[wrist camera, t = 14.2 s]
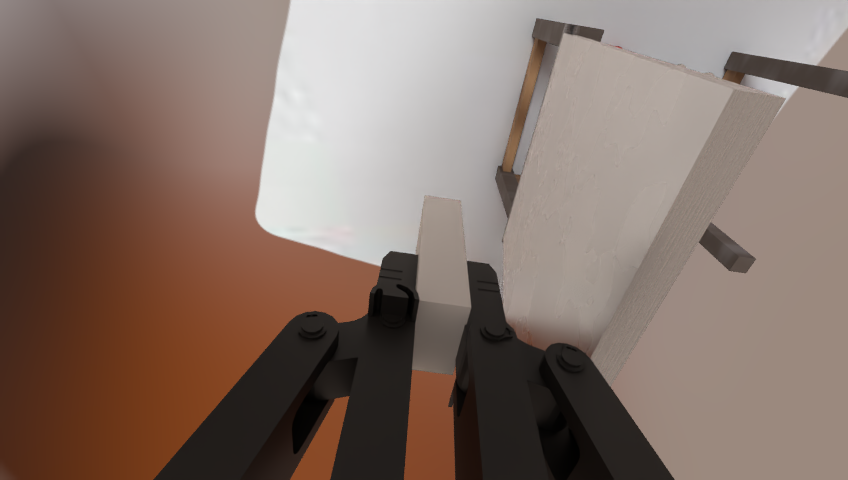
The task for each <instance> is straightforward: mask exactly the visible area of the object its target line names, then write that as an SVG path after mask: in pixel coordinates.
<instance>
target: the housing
mask: <svg viewBox="0 0 848 480" xmlns="http://www.w3.org/2000/svg"><path fill="white" fill-rule="evenodd" d="M564 27H565V23H560V22H555V21H549V20H543V19H537V18H536V22H535V26H534V30H533V34H532V37H535V41H534V45H533V48H532V52H531V56H530V60H529V64H528V67H527V71H526V75H525V79H524V83H523V86H522V90H521V94H520V98H519V102H518V106H517V109H516V113H515V117H514V121H513V125H512V128H511V132H510V136H509V140H508V144H507V147H506V151H505V155H504V159H503V163H502V166H498V170H497V174H496V177H495V179H496V182H497V185H498V188H499V192H500V195H501V198H502V201H503V205H504V208H505V211H506V214H507V218H508V217H509V214H510V211H511V207H512V204H513V200H514V197H515V194H516V190H517V187H518V183H519V180H520V177H521V175H516V174H514V172H513V170H512V166H513V162H514V158H515V155H516V151H517V148H518V144H519V140H520V137H521V133H522V129H523V126H524V122H525V119H526V115H527V111H528V108H529V104H530V101H531V97H532V93H533V90H534V86H535V83H536V79H537V75H538V72H539V68H540V65H541V61H542V57H543V54H544V50H545V47H546V43H547V42H548V43H550V44H553V45H556V46H558V47H559V44H560V40H561V37H562V33H563V30H564ZM603 33H604V30H602V29H596V28H590V27H584V26H578V29H577V32H576V35H579V36H582V37H585V38H588V39H592V40H595V41H598V42H600V41H601V38H602V35H603ZM724 69H727V71H726V73H725V75H724V77H723V80H727V81H730V82H733V83H737V84H740V82H741V80H742V79H743V77H744V75H745V74H749V75H753V76H757V77H761V78H766V79H770V80H774V81H778V82H783V83H787V84H791V85H795V86H800V87H804V88H808V89H813V90H817V91H821V92H825V93H830V94H834V95H838V96H842V97H847V98H848V71H843V70H837V69H831V68H826V67H820V66H814V65H808V64H802V63H796V62H790V61H784V60H778V59H773V58H767V57H761V56H755V55H749V54H743V53H737V52H732V54H731V56H730V57H729V59H728V61H727V63H726V65H725V67H724ZM699 243H700V244H701V245H702V246H703V247H704V248H705V249H707V250H708V251H709V252H710V253H711V254H712V255H713V256H714V257H715V258H716V259H717V260H718V261H719V262H720V263H722V264H723V265H724V266H725V267H726V268H727V269H728V270H729V271H734V272H741V273H746V272H747V271H748V269H749V268H750V267H751V265H752V264H753V263H754V261H755V260H756V259H755V258H754V257H753V256H752V255H750V254H749V253H748V252H747V251H745V250H744V249H743V248H742V247H740V246H739V245H738V244H737V243H736V242H734V241H733V240H732V239H731V238H729V237H728V236H727V235H726V234H725V233H723V232H722V231H721V230H720V229H718V228H717V227H716V226H715V225H714V224H712V223H710V224H709V226H708V227H707V229H706V231H705V232H704V234H703V236H702V237H701V239H700V241H699Z"/></svg>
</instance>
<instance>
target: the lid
mask: <svg viewBox="0 0 848 480" xmlns="http://www.w3.org/2000/svg"><path fill="white" fill-rule="evenodd" d="M577 29H578V25H572V24H566V23H565V27H564V30H563V33H562V37H561V40H560V44H559V47H558V51H557V54H556V57H555V61H554V64H553V68H552V71H551V74H550V78H549V81H548V85H547V88H546V91H545V95H544V98H543V102H542V105H541V108H540V112H539V115H538V119H537V122H536V125H535V129H534V132H533V136H532V139H531V143H530V146H529V149H528V153H527V156H526V160H525V163H524V166H523V170H522V173H521V177H520V180H519V183H518V187H517V190H516V194H515V197H514V200H513V204H512V207H511V211H510V214H509V217H508V221H507V224H506V228H505V231H504V235H503V238H502V242H503V308H504V313H505V318H506V322H507V323H508V324H509V325H510V326H511V327H512V328H513V329H514V331H515V333H516V335H517V338H518V339H520V340H521V341H523V342H525V343H527V344H529V345H531V346H534V347H536V348H539V349H542V350H544V351H545V350H546V349H547V348H548V347H549V346H550V345H551V344H555V343H567V344H569V345H572V346H575V347H577V348H578V349H580V350H581V351H583V352H585V353H586V354H587V356H588V357H589V358H590V359H591V360H592V361H593V363H594V364H595V366H596V367H597V368H598V370H599V371H600V373H601V374H602V376H603V377H604V379H605V380H606V381H607V383H608V384H609V386H610V387H611V385H612V383H613V382H614V380H615V379H616V377H617V375H618V374H619V372H620V371H621V369H622V367H623V366H624V364H625V362H626V361H627V359H628V357H629V356H630V354H631V352H632V351H633V349H634V348H635V346H636V344H637V342H638V341H639V339H640V338H641V336H642V334H643V333H644V331H645V329H646V328H647V326H648V325H649V323H650V321H651V320H652V318H653V316H654V315H655V313H656V311H657V310H658V308H659V306H660V305H661V303H662V301H663V300H664V298H665V297H666V295H667V293H668V291H669V290H670V288H671V286H672V285H673V283H674V282H675V280H676V278H677V277H678V275H679V274H680V272H681V270H682V269H683V267H684V265H685V264H686V262H687V260H688V259H689V257H690V255H691V254H692V252H693V250H694V249H695V247H696V246H697V244H698V242H699V241H700V239H701V237H702V236H703V234H704V232H705V231H706V229H707V227H708V226H709V224H710V223H711V221H712V219H713V217H714V216H715V214H716V213H717V211H718V209H719V208H720V206H721V204H722V203H723V201H724V200H725V198H726V196H727V195H728V193H729V191H730V190H731V188H732V186H733V185H734V183H735V181H736V180H737V178H738V176H739V175H740V173H741V171H742V170H743V168H744V167H745V165H746V163H747V162H748V160H749V158H750V157H751V155H752V153H753V152H754V150H755V148H756V147H757V145H758V144H759V142H760V140H761V139H762V137H763V135H764V134H765V132H766V130H767V129H768V127H769V126H770V124H771V122H772V121H773V119H774V117H775V116H776V114H777V112H778V111H779V109H780V107H781V106H782V104H783V102H784V101H785V99H786V98H783V97H779V96H776V95H773V94H770V93H766V92H763V91H760V90H756V89H753V88H750V87H746V86H743V85H740V84H737V83H733V82H730V81H727V80H723V79H720V78H717V77H714V76H710V75H707V74H704V73H700V72H697V71H694V70H691V69H687V68H684V67H681V66H677V65H674V64H671V63H667V62H664V61H661V60H658V59H654V58H651V57H648V56H644V55H641V54H638V53H635V52H631V51H628V50H625V49H621V48H618V47H615V46H611V45H608V44H605V43H602V42H598V41H595V40H592V39H588V38H585V37H582V36H579V35H576V32H577Z"/></svg>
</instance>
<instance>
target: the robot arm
mask: <svg viewBox="0 0 848 480" xmlns="http://www.w3.org/2000/svg"><path fill="white" fill-rule="evenodd" d="M455 365H456V380H455V383H454V387H453V390H452V394H451V397H450V401H449V407H452V405H453V412H454V446H455V447H454V448H455V480H674V478H673V477H672V475H671V474H670V473H669V471H668V469H667V468H666V467H665V465H664V464H663V462H662V461H661V459H660V458H659V456H658V455H657V454H656V452H655V451H654V449H653V448H652V447H651V445H650V444H649V442H648V441H647V439H646V438H645V436H644V435H643V433H642V432H641V431H640V429H639V428H638V426H637V425H636V424H635V422H634V420H633V419H632V418H631V416H630V415H629V413H628V412H627V410H626V409H625V407H624V406H623V405H622V403H621V402H620V400H619V399H618V397H617V396H616V395H615V393H614V392H613V390H612V389H611V387H610V386H609V384H608V383H607V381H606V380H605V379H604V377H603V376H602V374H601V373H600V371H599V370H598V368H597V367H596V366H595V364H594V363H593V361H592V360H591V359H590V358H589V357H588V356H587V354H586V353H585V352H583V351H581V350H580V349H578V348H577V347H575V346H572V345H569V344H567V343H555V344H551V345H550V346H549V347H548V348H547V349H546V350H545V351H544V350H542V349H539V348H536V347H534V346H531V345H529V344H527V343H525V342H523V341H521V340H520V339H518V338H517V335H516V333H515V331H514V329H513V328H512V327H511V326H510V325H509V324H508V323H507V322H506V318H505V313H504V308H503V303H502V299H501V294H500V289H499V285H498V279H497V274H496V272H495V271H494V270H493V269H492V267H491V266H490V265H489V264H485V263H478V262H471V261H467V259H466V249H465V239H464V229H463V219H462V209H461V201H459V200H453V199H446V198H439V197H432V196H426V195H425V197H424V204H423V210H422V216H421V222H420V229H419V235H418V241H417V247H416V255H415V254H408V253H400V252H393V251H390V252H389V253H388V254H387V255H386V256H385V257H384V258H383V260H382V265H381V270H380V273H379V278H378V282H377V285H376V286H375V287H373V288H372V290H371V292H370V299H369V309H368V313H367V314H366V315H365V316H363V317H362V318H360V319H357V320H355V321H350V322H343V323H338V322H337V321H336V320H335V319H334V318H333V317H332V316H330V315H328V314H326V313H323V312H317V311H313V312H305V313H303V314H300V315H297V316H296V317H295V318H293V319H292V320H291V321H290V322H289V323H288V324H287V325H286V326H285V327H284V329H283V330H282V331H281V332H280V333H279V334H278V335H277V337H276V338H275V339H274V340H273V341H272V343H271V344H270V345H269V346H268V347H267V348H266V349H265V351H264V352H263V353H262V354H261V355H260V357H259V358H258V359H257V360H256V361H255V362H254V363H253V365H252V366H251V367H250V368H249V369H248V370H247V372H246V373H245V374H244V375H243V376H242V377H241V379H240V380H239V381H238V382H237V383H236V384H235V386H234V387H233V388H232V389H231V390H230V392H228V394H227V395H226V396H225V397H224V398H223V399H222V401H221V402H220V403H219V404H218V405H217V407H216V408H215V409H214V410H213V411H212V412H211V413H210V415H209V416H208V417H207V418H206V419H205V420H204V421H203V423H202V424H201V425H200V426H199V428H198V429H197V430H196V431H195V432H194V433H193V434H192V435H191V437H190V438H189V439H188V440H187V441H186V442H185V444H184V445H183V446H182V447H181V448H180V449H179V451H178V452H177V453H176V454H175V455H174V456H173V458H172V459H171V460H170V461H169V462H168V463H167V465H166V466H165V467H164V468H163V469H162V470H161V471H160V473H159V474H158V475H157V476H156V477H155V479H154V480H290V478H291V477H292V475H293V473H294V471H295V469H296V468H297V466H298V464H299V462H300V461H301V458H302V457H303V455H304V453H305V452H306V450H307V448H308V447H309V445H310V443H311V441H312V439H313V438H314V436H315V434H316V432H317V431H318V429H319V427H320V425H321V423H322V422H323V420H324V418H325V416H326V415H327V413H328V411H329V409H330V407H331V406H332V404H333V402H334V399H335V398H340V397H346V396H350V397H349V400H348V405H347V410H346V414H345V418H344V422H343V427H342V431H341V435H340V440H339V444H338V449H337V453H336V458H335V462H334V466H333V471H332V475H331V479H330V480H404V467H405V455H406V441H407V428H408V414H409V401H410V389H411V375H412V370H420V371H427V372H434V373H442V374H450V375H453V372H454V368H455Z"/></svg>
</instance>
